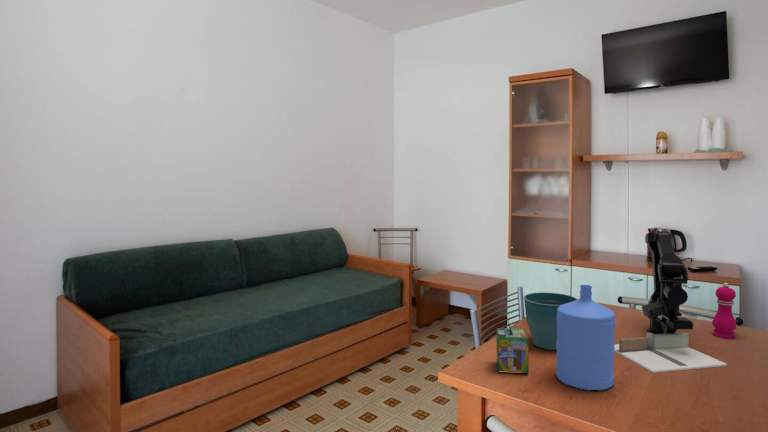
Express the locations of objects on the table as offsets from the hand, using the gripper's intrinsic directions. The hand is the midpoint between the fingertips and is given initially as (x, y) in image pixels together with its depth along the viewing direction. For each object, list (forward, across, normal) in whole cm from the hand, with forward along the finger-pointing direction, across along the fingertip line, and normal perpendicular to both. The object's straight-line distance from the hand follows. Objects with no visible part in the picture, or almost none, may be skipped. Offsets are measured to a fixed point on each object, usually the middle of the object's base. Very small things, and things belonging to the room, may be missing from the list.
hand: (667, 340), depth 158 cm
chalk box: (+2, +22, -58) cm, 61 cm away
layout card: (+2, +9, -6) cm, 11 cm away
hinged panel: (+1, +3, -1) cm, 3 cm away
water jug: (+2, +29, -38) cm, 48 cm away
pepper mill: (+3, -12, +26) cm, 28 cm away
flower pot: (+2, 0, -40) cm, 40 cm away
